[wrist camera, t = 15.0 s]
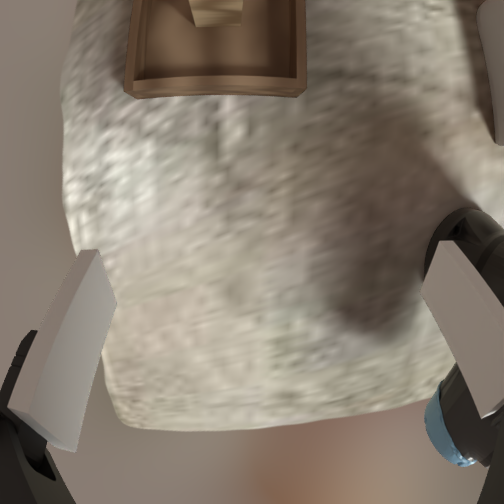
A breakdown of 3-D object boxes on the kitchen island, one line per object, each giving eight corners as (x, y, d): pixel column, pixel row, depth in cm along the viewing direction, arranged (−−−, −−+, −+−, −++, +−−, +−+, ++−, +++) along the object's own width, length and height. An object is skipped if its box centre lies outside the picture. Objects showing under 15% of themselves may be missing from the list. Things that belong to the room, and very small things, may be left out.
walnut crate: (293, -46, 26) (301, -66, 21) (296, 97, 32) (306, 88, 27) (154, -45, 24) (147, -64, 20) (137, 99, 31) (123, 91, 26)
